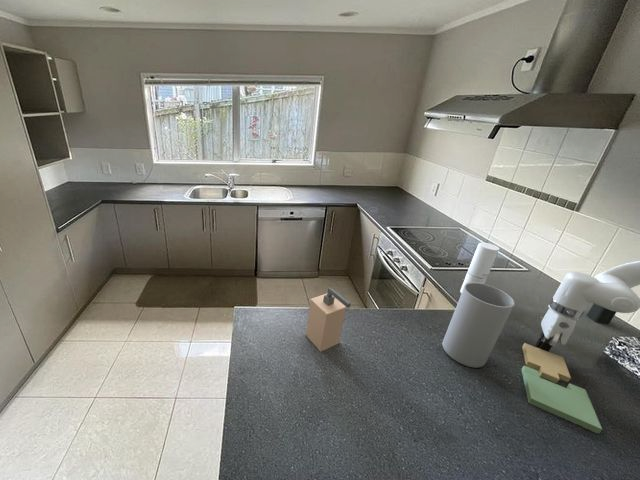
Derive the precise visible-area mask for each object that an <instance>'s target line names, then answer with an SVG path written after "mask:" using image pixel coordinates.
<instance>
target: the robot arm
mask: <svg viewBox="0 0 640 480" xmlns="http://www.w3.org/2000/svg"><path fill="white" fill-rule="evenodd" d="M638 286H640V260H637V261H631V262H626V263H622V264H619V265H616V266H614V267H611V268H609V269H606V270H604V271H602V272H600V273H598V274H596V275H595V276H592V275H590V274H587V273H583V272H577V271H570V272H568V273H566V274H565V276H564V277H563V279H562V281H561V283H559V286H558V288H557V289H556V291H555V293H554V294H553V296H552V298H551V300H550V302H549V304H548V305H547V306H548V309H547V311H546V313H545V315H544V316H543V318H542V319H541V322H540V327H541V330H542V332H541V333H540V335H539V338H538V339H537V341H536V343H535V345H534V347H537V348H540V349H542V350H545V351H548V352H550V350H551V349H552V347H556V346H557V343H558V341H559V342H560V344H561V345H562V346H564V345H567V343H568V341H569V339H570V338H571V335H572V334H573V332H574V330H575V327H576V325H577V322H578V320H580V319H581V318H582V316H583V315H584V313H585V312H586V310H587V309H588V307H589V305H590V304H596V305H599V306H601V307H604V308H606V309H609V310H611V311H615V312H616V313H620V314H631V313H635V312H638V310H640V297H639V295H638V294H637V293H635V291H634V290H633V288H635V287H638Z"/></svg>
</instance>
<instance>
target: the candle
mask: <svg viewBox="0 0 640 480" xmlns="http://www.w3.org/2000/svg"><path fill="white" fill-rule="evenodd" d="M616 314H617V312H615V311H611V310H609V309H606V308H604V307H601V306H599V305H596V304H594V303H592V305H591V307H590V308H589V310H588V312H587V313H586V316H587V317H588V318H589V319H591V320H592V321H593V322H595V323H597V324H605V325H609V324H610V323H611V322H612V320H613V319H614V317H615V316H616Z"/></svg>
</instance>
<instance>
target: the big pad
mask: <svg viewBox="0 0 640 480" xmlns="http://www.w3.org/2000/svg"><path fill="white" fill-rule="evenodd" d="M521 375H522V379H523V384H524V389H525V393H526V397H527V403H528V404H530V405H532V406H534V407H537V408H539V409H541V410H543V411H545V412H548V413H550V414H552V415H554V416H557V417H559V418H561V419H563V418H564V420H566V421H568V420H569V421H568V422H570V421H571V422H570V423H572V422H573V423H572V424H574V425H577V424H578V425H577V426H579V425H580V426H579V427H581V426H582V428H584V429H586V430H588V429H589V431H590V430H591V431H590V432H593V433H595V434H597V433H598V434H597V435H599V434H600V433H601V432H602V431H603V428H602V425H601V423H600V421H599V418H598V416H597V414H596V411H595V409H594V406H593V404H592V402H591V399H590V397H589V394H588V393H587V389H586V388H582V387H580V386H578V385H575V384H573V383H569V382H568V384H567V385H566V387H564V386H562V385H559V384H558V383H554V382H552V381H549V380H547V379H544V378H542V377H540V376H539V372H538V370H536V369H533V368H531V367H528V366H526V365H523V366H522V368H521Z"/></svg>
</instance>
